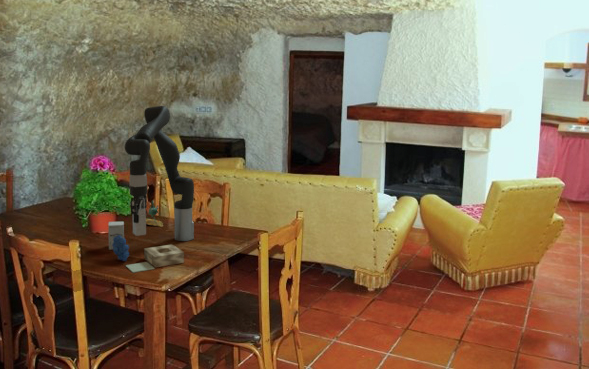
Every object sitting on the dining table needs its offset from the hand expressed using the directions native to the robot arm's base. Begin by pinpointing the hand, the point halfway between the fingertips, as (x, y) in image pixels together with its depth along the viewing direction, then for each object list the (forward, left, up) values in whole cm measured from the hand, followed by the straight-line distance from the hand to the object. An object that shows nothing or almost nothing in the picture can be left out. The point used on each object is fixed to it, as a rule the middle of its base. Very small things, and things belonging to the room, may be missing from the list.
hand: (139, 220), depth 262 cm
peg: (0, 0, -6) cm, 6 cm away
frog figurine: (-31, -68, -22) cm, 78 cm away
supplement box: (0, -34, -22) cm, 41 cm away
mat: (0, 0, -22) cm, 22 cm away
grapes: (+5, -14, -22) cm, 27 cm away
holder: (-13, -4, -22) cm, 26 cm away
